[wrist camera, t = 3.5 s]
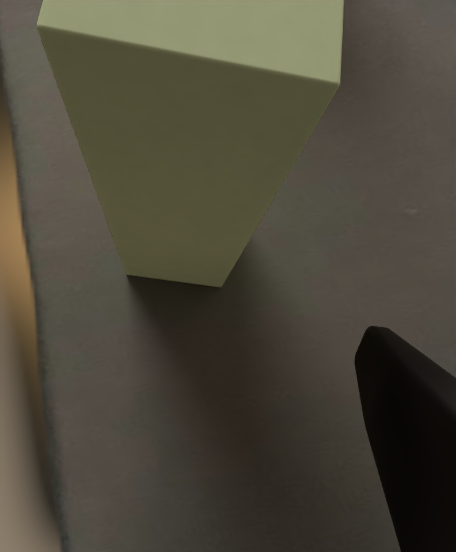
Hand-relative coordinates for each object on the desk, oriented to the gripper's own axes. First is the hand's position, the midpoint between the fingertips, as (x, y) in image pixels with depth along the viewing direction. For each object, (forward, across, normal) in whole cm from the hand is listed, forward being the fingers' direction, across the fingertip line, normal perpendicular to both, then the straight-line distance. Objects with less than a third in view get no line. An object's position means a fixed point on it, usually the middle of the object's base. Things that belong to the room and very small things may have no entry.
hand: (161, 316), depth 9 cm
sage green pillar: (+14, 0, +5) cm, 14 cm away
